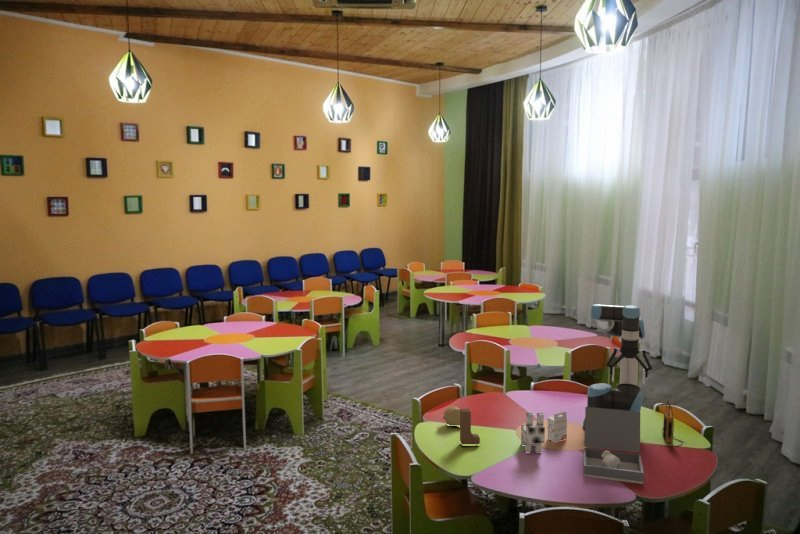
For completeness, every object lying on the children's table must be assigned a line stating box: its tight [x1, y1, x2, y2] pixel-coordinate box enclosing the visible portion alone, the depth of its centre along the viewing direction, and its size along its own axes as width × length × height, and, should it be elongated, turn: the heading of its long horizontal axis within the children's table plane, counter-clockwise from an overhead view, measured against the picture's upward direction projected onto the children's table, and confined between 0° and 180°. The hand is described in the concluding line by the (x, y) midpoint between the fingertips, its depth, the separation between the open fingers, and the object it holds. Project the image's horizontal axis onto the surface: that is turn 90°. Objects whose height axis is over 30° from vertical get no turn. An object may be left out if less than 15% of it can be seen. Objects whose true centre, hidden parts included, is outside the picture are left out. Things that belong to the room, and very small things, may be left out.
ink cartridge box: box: [547, 411, 568, 443], centre depth 291 cm, size 9×5×15 cm, turn 118°
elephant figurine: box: [601, 449, 623, 468], centre depth 259 cm, size 8×10×7 cm
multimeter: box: [661, 399, 687, 448], centre depth 288 cm, size 15×10×20 cm
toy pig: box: [442, 405, 461, 425], centre depth 309 cm, size 10×12×11 cm
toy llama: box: [520, 412, 546, 453], centre depth 280 cm, size 8×18×20 cm, turn 1°
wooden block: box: [459, 408, 481, 444], centre depth 286 cm, size 9×4×18 cm, turn 97°
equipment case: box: [583, 447, 645, 485], centre depth 259 cm, size 24×18×5 cm
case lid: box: [583, 406, 641, 454], centre depth 271 cm, size 24×18×2 cm
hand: (628, 382), depth 278 cm, fingers open, 13 cm apart
